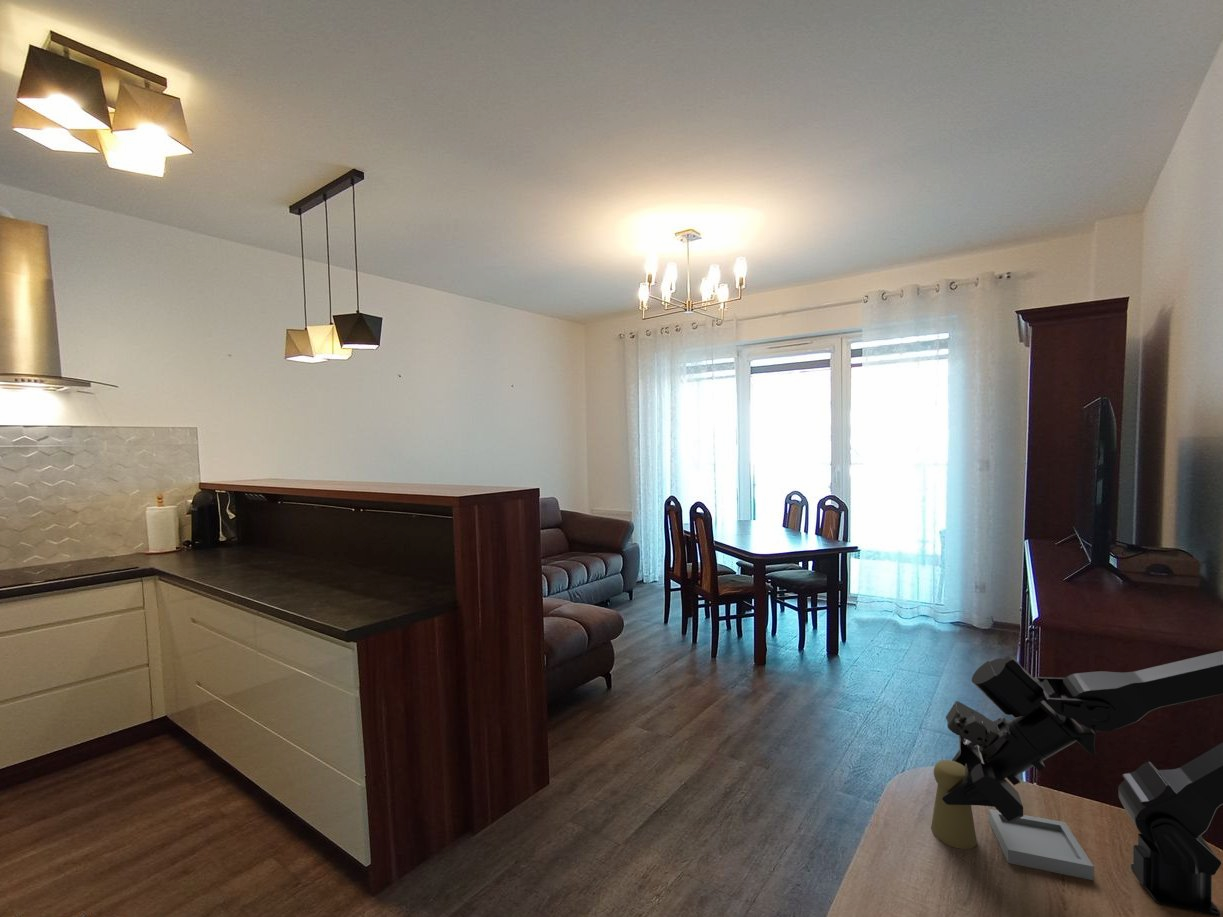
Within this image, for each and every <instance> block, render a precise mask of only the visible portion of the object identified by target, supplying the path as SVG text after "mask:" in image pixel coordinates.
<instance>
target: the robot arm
mask: <svg viewBox="0 0 1223 917" xmlns="http://www.w3.org/2000/svg"><path fill="white" fill-rule="evenodd" d="M971 683H973V684H974V685H975V686H976V688H978V690H980V691H981V692H982V693H983V694H984V695H985V696H986V697H987V698H988V699H989V700H990V701H991V702H992V703H993V704H994V705H995V706H996V707H997V708H999V709H1000V711H1001V712H1003V713H1004V714H1005V715H1008V716H1013V717H1014V718H1013V719H1012V720H1010V721H1009V720H1007V719H1006V717H1003V718H1002V717H999V718H997V719H996V720H994V721H993V720H991V719H990V718H987V717H986V716H985V715H984V714H982V713H980V712H979V711H977V710H975V709H973V708H971V707H969V706H967V705H965V704H964V703H962V702H960V701H957V700H955V701H954V703H953V705H952V706H951V707H950V710H949V712H947V715H946V716H945V720H946V721H947V725H946V726H947V729H948V730H950V732H952V733H953V734H955V735H956V736H958V741H959V742H958V744H959V746H958V747H959V749H958V751H957V753H956V754H955V755H954V756H953V757H952V760H951V761H955V762H958V763H960V764H962V765H963V766H965V777H964V778H963V779H962V780H960V781H959V782H958V783H957V784H956V785H954V786H953V787H952V788H951V789H950V790H948V791H947V792H946V793H945V794H944V795H943V796H942V800H943V801H944V802H945V803H946V804H948V805H971V806H981V807H992V808H994V809H995V810H998V811H999V812H1000V813H1001V814H1002V815H1003V816H1004V817H1005V818H1006V819H1007V820H1008V821H1009V822H1011V823H1012V822H1013V821H1015V820H1017V819H1019V818H1021V817H1023V815H1024V806H1023V802H1022V800H1021V797H1020V793H1019V792H1018V790H1017V789H1016V788H1015V787H1014V786H1016V785H1018V784H1020V783H1021V781H1020V778H1019V776H1020V775H1021V774H1023V773H1024V772H1026V771H1028V770H1029V769H1031V768H1033V767H1035V769H1036V770H1037V771H1038V772H1041V771H1042V770H1044V769H1046V766H1045V764H1044V761H1045V760H1047V759H1049V758H1050V757H1052V756H1054V755H1055V754H1058V753H1059V752H1060V751H1062V750H1064V749H1066V748H1067V747H1069V746H1071V745H1073V744H1074V743H1076V742H1077V743H1078V744H1079V745H1080V746H1081V747H1082V748H1084V750H1085V751H1087V752H1088V753H1089V754H1091V755H1094V754H1096V748H1095V747H1096V746H1095V739H1096V733H1095V732H1097V733H1111V732H1114V731H1116V730H1120V729H1122V728H1125V727H1127V726H1130V725H1132V724H1135V723H1137V722H1139V721H1140V720H1141V719H1142V718H1144V717H1145V716H1146V715H1147V714H1149V713H1151V712H1153V711H1156V710H1157V709H1160V708H1164V707H1170V706H1174V705H1179V704H1183V703H1188V702H1194V701H1198V700H1203V699H1207V698H1212V697H1217V696H1221V695H1223V650H1219V651H1216V652H1212V653H1207V654H1202V655H1198V656H1194V657H1191V658H1190V657H1189V658H1186V659H1182V660H1178V661H1173V662H1169V663H1164V664H1160V665H1156V666H1152V667H1148V668H1144V669H1140V670H1139V669H1138V670H1134V671H1126V672H1119V671H1117V672H1116V671H1104V670H1099V671H1089V672H1087V671H1086V672H1076V673H1072V674H1069V675H1067V676H1065V677H1056V676H1055V677H1053V676H1052V677H1051V676H1032V675H1031V674H1030V673H1029V672H1028V671H1027V670H1026V669H1024V667H1023V666H1021V664H1020V662H1019V661H1018V660H1017V659H1016V658H1015V657H1014V656H1013V655H1011V654H1008V655H1007V656H1006V657H1004V658H996V659H993V660H988V661H986V662H985V663H983V664H981V666H979V667H978V668H977V669H976V671H974V673H973V674H972V677H971ZM1121 776H1122V777H1123V779H1124V780H1123V781H1122V782H1121V783H1119V785H1118V788H1117V789H1118V798H1119V800H1120V803H1121V804H1122V807H1123V808H1124V809H1125V811H1126V812H1127V814H1128V816H1129V817H1130V819H1131V821H1132V822H1133V824H1134V826H1135V827H1136V829H1137V830H1138V831H1139V832H1140V833H1138V834H1137V844H1134V845H1133V849H1132V850H1133V851H1132V852H1133V854H1132V855H1133V856H1132V857H1133V862H1132V863H1133V864H1132V863H1131V864H1130V869H1131V870H1132V872H1133V874H1134V875H1135V877H1136V878H1137V879H1138V881H1139V882H1140V884H1141V885H1142V886H1143V887H1144V889H1145V890H1146V891H1147V892H1148V894H1149V896H1151V898H1152V899H1153V900H1154V902H1156V903H1157V904H1159V905H1162V906H1167V907H1171V908H1176V909H1181V910H1186V911H1191V912H1194V913H1199V914H1204V915H1210V916H1214V917H1221V911H1220V909H1219V908H1218V907H1217V906H1216V904H1215V903H1214V902H1213V901H1212V900H1213V899H1212V896H1213V894H1212V892H1213V891H1212V890H1213V876H1215V875H1216V873H1217V872H1218V870H1219V868H1220V867H1221V866H1222V861H1221V859H1219V857H1218V856H1217V855H1216V854H1215V852H1214V850H1212V848H1211V847H1210V845H1209V844H1208V843H1207V842H1206V840H1205V839H1204V837H1202V835H1204V833H1206V832H1207V831H1208V829H1209V827H1210V825H1211V822H1212V821H1213V819H1214V816H1215V814H1216V812H1217V810H1218V808H1220V807H1222V805H1223V742H1221V743H1220V744H1218V745H1216V746H1215V747H1213V748H1211V749H1209V750H1207V751H1206V752H1204V753H1203V754H1201V755H1199V756H1197V757H1196V758H1194V759H1191V760H1190V761H1188V762H1186V763H1185V764H1183V765H1182V766H1180V767H1177V768H1172V769H1157V767H1155V765H1154V764H1153V763H1152V762H1151V761H1146V762H1144V763H1142V764H1141V765H1140V766H1139V767H1137V769H1135V770H1134V771H1132V772H1128V773H1127V772H1126V773H1123V774H1122V775H1121ZM1007 780H1008V781H1007ZM1011 784H1012V785H1013V786H1012V785H1011Z"/></svg>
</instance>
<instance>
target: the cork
mask: <svg viewBox="0 0 1223 917" xmlns="http://www.w3.org/2000/svg"><path fill="white" fill-rule="evenodd" d="M933 777H934V780H935V782H936V784H937V787H936V792H935V800H934V807H933V813H932V819H931V824H930V825H931V826H930V830H931V832H932V834H933V835H934V836H935V838H936V839H938V840H939V841H940V842H942V843H944V844H945V845H948V846H950V847H953V848H956V849H960V850H969V849H973V848H975V846H977V842H978V840H977V834H976V829H975V828H976V827H975V822H974V816H973V815H974V814H973V809H972V805H948V804H946V803H945V802H944V801H943V800H942V796H943V795H944V794H945V793H946V792H947V791H948V790H950V789H951V788H952V787H953V786H954V785H956V784H957V783H958V782H959V781H960V780H962V779H963V778H964V777H965V766H963V765H962V764H960V763H958V762H955V761H952V760H949V759H944V760H939V761H938V762H936V764H935V765H934V768H933Z"/></svg>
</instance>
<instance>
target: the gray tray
mask: <svg viewBox="0 0 1223 917" xmlns="http://www.w3.org/2000/svg"><path fill="white" fill-rule="evenodd" d="M988 822H989V824H990V826H991V829H992V831H993V833H994V835H995V837H996V839H997V842H998V844H999V846H1000V848H1001V851H1002V853H1003V855H1004V858H1005V860H1006V861H1007V863H1008V864H1010V865H1011V864H1013V865H1016V866H1022V867H1026V868H1031V869H1036V870H1042V871H1046V872H1051V873H1055V874H1059V875H1066V876H1070V877H1076V878H1080V879H1084V880H1089V881H1090V880H1091V881H1094V880H1095V879H1094V878H1095V871H1094V870H1095V865H1093V863H1092V862H1091V859H1089V857H1088V855H1087V854H1086V852H1085V850H1084V849H1083V847H1082V846H1081V845H1080V843H1079V841H1078V840H1077V838H1076V836H1075V835H1074V834H1073V831H1071V829H1070V827H1069V826H1068V825H1067V823H1066V822H1065V821H1060V820H1055V819H1050V818H1043V817H1037V816H1032V815H1026V814H1023V817H1021V818H1019V819H1017V820H1015V821H1013V822H1012V823H1011V822H1009V821H1008V820H1007V819H1006V818H1005V817H1004V816H1003V815H1002V814H1001V813H1000V812H999V811H998V810H997V809H994V808H993V809H992V808H988Z"/></svg>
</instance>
